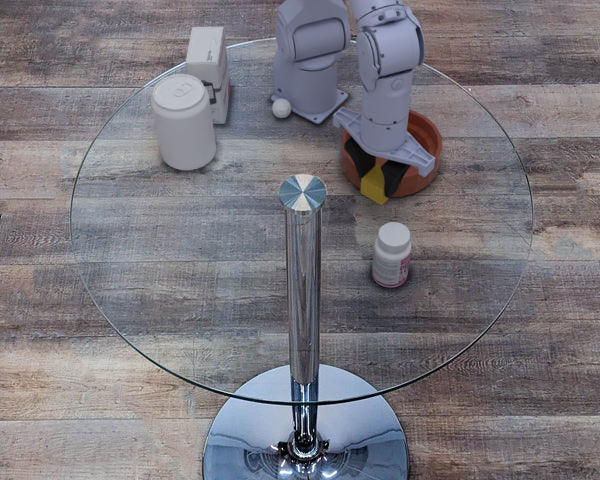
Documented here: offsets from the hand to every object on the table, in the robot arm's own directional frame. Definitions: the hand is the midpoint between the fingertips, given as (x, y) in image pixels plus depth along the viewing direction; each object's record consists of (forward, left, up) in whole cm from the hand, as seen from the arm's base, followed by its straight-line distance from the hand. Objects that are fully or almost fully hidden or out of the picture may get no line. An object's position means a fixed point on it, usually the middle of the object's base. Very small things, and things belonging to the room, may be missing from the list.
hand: (379, 185), depth 116 cm
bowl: (-4, +10, -7) cm, 13 cm away
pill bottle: (+7, -7, -7) cm, 12 cm away
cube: (0, 0, -1) cm, 1 cm away
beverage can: (-29, -6, -7) cm, 31 cm away
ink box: (-33, +4, -7) cm, 34 cm away
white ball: (-23, +8, -7) cm, 26 cm away
